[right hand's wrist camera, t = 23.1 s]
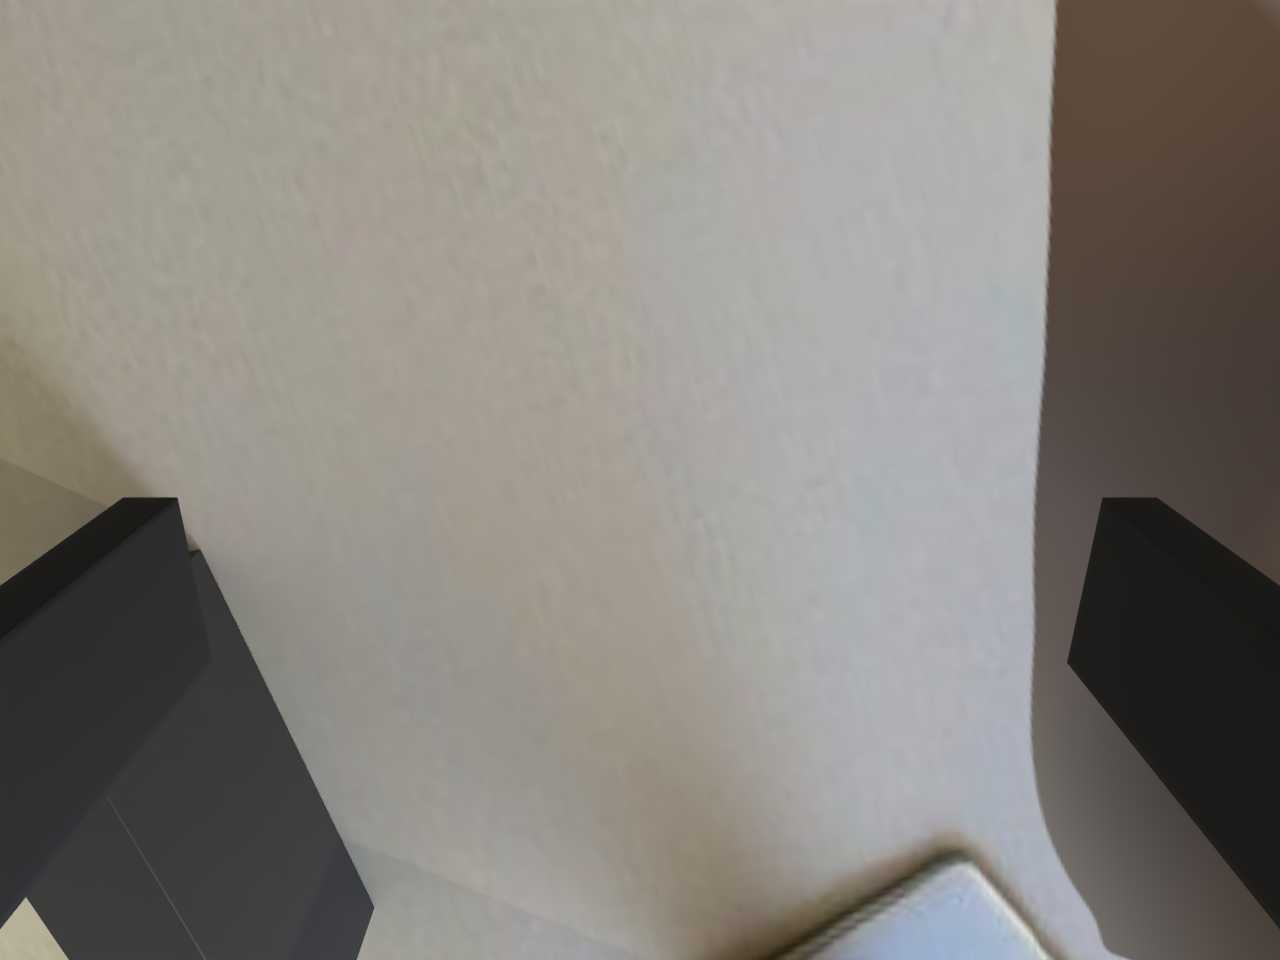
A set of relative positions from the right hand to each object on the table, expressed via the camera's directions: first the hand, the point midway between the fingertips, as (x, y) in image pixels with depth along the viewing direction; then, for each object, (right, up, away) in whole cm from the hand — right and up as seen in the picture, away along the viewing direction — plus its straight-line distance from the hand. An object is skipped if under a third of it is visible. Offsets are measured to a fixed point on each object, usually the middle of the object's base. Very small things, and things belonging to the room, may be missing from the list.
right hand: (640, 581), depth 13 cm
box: (-23, -15, +39) cm, 48 cm away
